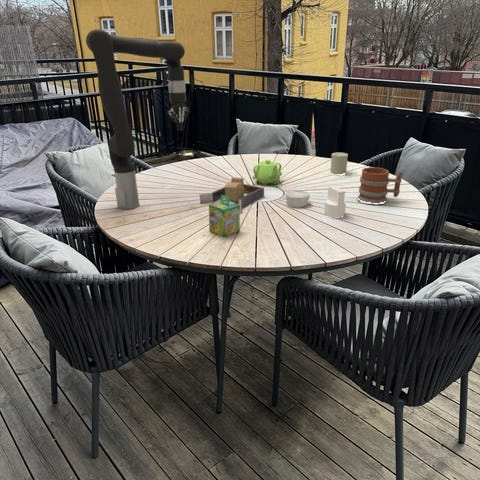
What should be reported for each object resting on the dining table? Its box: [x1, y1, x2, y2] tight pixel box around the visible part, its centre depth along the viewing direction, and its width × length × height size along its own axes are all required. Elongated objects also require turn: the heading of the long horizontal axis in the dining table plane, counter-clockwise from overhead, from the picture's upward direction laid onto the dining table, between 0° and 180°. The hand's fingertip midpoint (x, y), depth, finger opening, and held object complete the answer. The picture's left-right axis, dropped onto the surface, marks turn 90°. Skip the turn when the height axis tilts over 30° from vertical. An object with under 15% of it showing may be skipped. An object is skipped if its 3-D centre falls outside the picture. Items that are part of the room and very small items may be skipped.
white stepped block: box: [323, 185, 347, 217], centre depth 183 cm, size 9×9×12 cm
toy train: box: [223, 176, 245, 204], centre depth 202 cm, size 6×17×10 cm, turn 166°
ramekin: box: [285, 190, 311, 208], centre depth 197 cm, size 11×11×5 cm
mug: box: [357, 166, 403, 203], centre depth 198 cm, size 14×19×15 cm
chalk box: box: [208, 195, 241, 238], centre depth 168 cm, size 9×9×15 cm
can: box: [330, 152, 349, 174], centre depth 241 cm, size 9×9×12 cm
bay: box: [199, 183, 265, 214], centre depth 204 cm, size 26×24×4 cm
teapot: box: [252, 159, 283, 187], centre depth 227 cm, size 16×14×13 cm
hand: (180, 130), depth 196 cm, fingers closed
